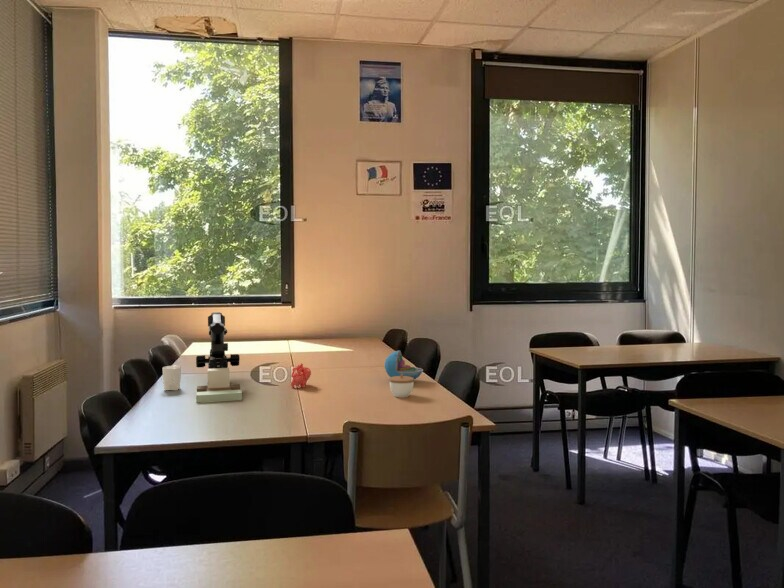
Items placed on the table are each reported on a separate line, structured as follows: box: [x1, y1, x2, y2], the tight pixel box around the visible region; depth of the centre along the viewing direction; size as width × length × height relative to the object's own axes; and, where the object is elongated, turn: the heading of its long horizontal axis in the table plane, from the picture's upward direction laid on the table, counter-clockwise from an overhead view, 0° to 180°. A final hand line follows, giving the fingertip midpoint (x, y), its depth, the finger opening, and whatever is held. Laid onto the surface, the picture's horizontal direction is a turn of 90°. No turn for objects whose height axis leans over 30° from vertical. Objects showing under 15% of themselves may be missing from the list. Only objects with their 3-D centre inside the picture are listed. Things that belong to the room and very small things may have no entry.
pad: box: [195, 389, 243, 403], centre depth 251 cm, size 6×18×3 cm, turn 107°
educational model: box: [384, 350, 424, 381], centre depth 291 cm, size 16×19×15 cm
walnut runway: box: [196, 383, 241, 393], centre depth 260 cm, size 12×18×3 cm
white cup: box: [162, 365, 182, 391], centre depth 270 cm, size 8×8×10 cm
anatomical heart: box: [290, 362, 312, 388], centre depth 278 cm, size 9×12×12 cm
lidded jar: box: [388, 374, 415, 399], centre depth 261 cm, size 11×11×9 cm
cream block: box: [207, 367, 230, 388], centre depth 263 cm, size 6×9×8 cm, turn 107°
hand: (218, 376), depth 266 cm, fingers closed
